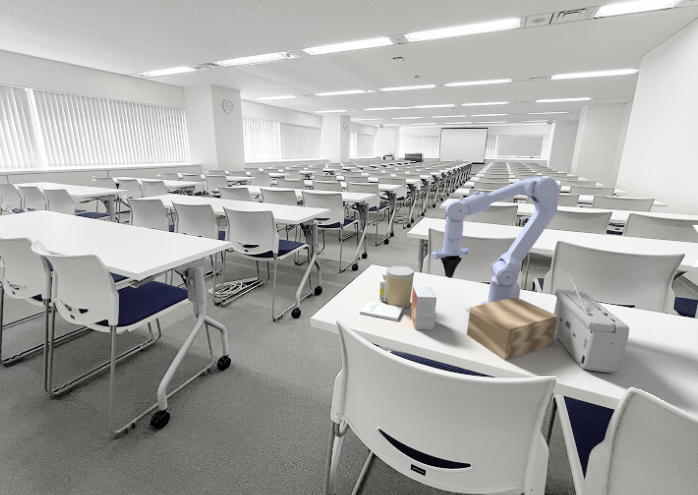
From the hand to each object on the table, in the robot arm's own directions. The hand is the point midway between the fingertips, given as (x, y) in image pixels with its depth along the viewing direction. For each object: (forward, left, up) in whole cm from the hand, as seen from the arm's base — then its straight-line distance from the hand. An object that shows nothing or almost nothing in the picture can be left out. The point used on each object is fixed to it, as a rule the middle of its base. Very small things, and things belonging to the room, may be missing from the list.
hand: (448, 276), depth 112 cm
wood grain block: (0, +26, -9) cm, 28 cm away
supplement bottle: (+18, -9, -9) cm, 22 cm away
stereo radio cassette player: (-13, +37, -10) cm, 40 cm away
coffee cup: (+16, -5, -10) cm, 19 cm away
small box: (+17, +9, -10) cm, 22 cm away
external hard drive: (+25, -2, -10) cm, 27 cm away
